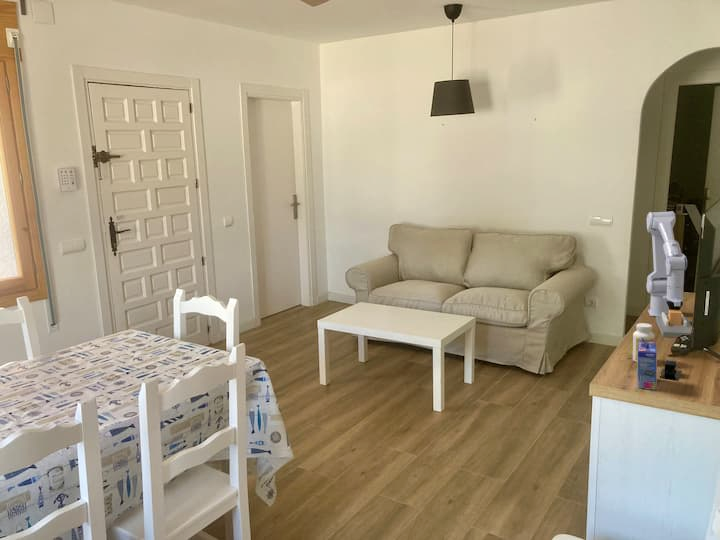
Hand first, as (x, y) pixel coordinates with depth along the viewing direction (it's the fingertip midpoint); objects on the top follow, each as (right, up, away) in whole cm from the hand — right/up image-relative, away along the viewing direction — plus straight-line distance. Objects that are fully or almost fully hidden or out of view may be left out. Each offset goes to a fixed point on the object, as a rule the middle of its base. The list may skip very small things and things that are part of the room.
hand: (673, 319), depth 228 cm
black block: (-26, -15, -45) cm, 54 cm away
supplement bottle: (-29, -12, -33) cm, 45 cm away
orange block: (-1, -1, -2) cm, 3 cm away
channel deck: (-1, -4, -3) cm, 5 cm away
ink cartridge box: (-37, -16, -51) cm, 65 cm away
